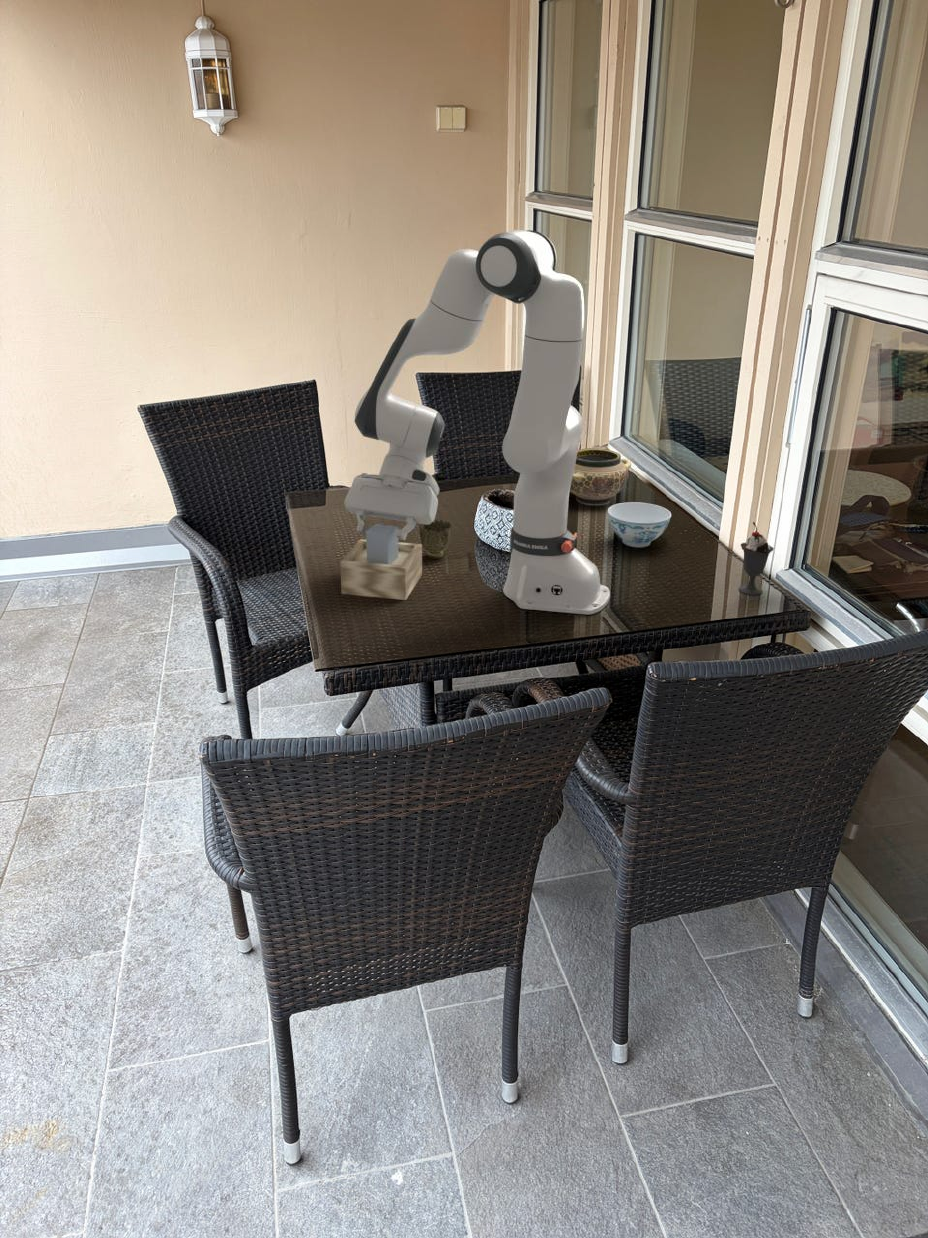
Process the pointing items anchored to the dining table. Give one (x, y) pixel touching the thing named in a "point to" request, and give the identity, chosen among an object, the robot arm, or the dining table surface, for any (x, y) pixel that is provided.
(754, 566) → the sundae
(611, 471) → the ceramic bowl
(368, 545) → the slate block
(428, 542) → the cup
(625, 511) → the chinaware
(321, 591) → the dining table surface
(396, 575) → the maple box
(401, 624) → the dining table surface
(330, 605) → the dining table surface
